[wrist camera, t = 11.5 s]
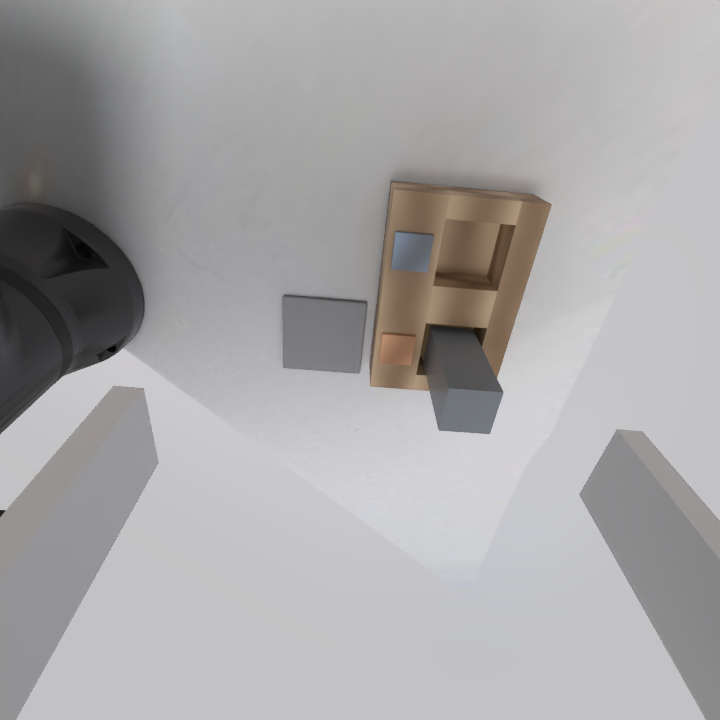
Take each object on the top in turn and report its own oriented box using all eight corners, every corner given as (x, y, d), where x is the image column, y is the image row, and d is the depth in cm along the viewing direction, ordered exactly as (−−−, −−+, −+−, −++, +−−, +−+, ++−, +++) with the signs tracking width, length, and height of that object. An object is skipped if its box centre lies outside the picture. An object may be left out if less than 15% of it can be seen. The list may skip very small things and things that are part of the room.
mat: (284, 365, 44) (283, 367, 43) (283, 295, 40) (282, 297, 39) (359, 371, 44) (359, 373, 44) (366, 302, 40) (366, 304, 40)
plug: (420, 351, 42) (438, 430, 32) (427, 316, 40) (449, 388, 30) (459, 354, 42) (489, 434, 32) (468, 319, 40) (503, 392, 30)
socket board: (369, 364, 44) (370, 388, 40) (390, 181, 34) (394, 190, 30) (481, 372, 44) (492, 397, 40) (533, 194, 35) (553, 205, 31)
